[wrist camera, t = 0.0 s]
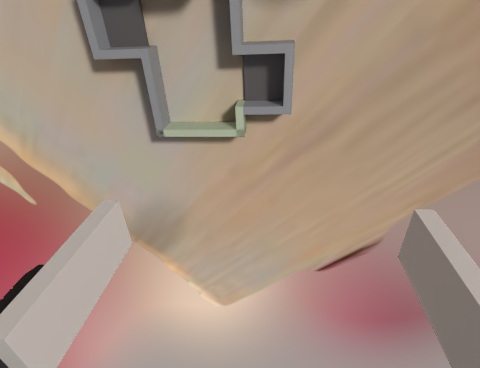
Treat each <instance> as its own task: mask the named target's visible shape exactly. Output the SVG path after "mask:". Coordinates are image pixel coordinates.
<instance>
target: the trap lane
mask: <svg viewBox="0 0 480 368" xmlns="http://www.w3.org/2000/svg"><path fill="white" fill-rule="evenodd" d="M77 3H78V6H79V10H80V13H81V16H82V20H83V23H84V27H85V30H86V33H87V37H88V40H89V44H90V47H91V51H92V54H93V57H94V60H98V59H128V58H141V60H142V65H143V70H144V75H145V79H146V84H147V89H148V94H149V98H150V103H151V108H152V112H153V117H154V122H155V127H156V131H157V136H158V137H244V136H245V132H246V115H266V114H291V108H292V88H293V69H294V49H295V42H294V40H289V41H263V42H243V19H242V0H229V3H230V21H231V40H232V55H244V84H245V100H238V101H237V104H236V106H235V114H236V122H170V118H169V112H168V107H167V101H166V96H165V90H164V85H163V79H162V74H161V68H160V63H159V57H158V51H157V46H149V44H148V39H147V34H146V29H145V23H144V18H143V13H142V8H141V3H140V0H77Z"/></svg>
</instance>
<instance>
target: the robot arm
mask: <svg viewBox="0 0 480 368" xmlns="http://www.w3.org/2000/svg"><path fill="white" fill-rule="evenodd" d="M131 245H132V240H131V237H130V234H129V231H128V228H127V225H126V222H125V219H124V216H123V213H122V210H121V207H120V204H119V201H118V200H103V201H102V202H101V203H100V204H99V205H98V206H97V207H96V209H95V210H94V211H93V212H92V213H91V214H90V215H89V216H88V217H87V219H86V220H85V221H84V222H83V223H82V224H81V225H80V226H79V227H78V228H77V230H76V231H75V232H74V233H73V234H72V235H71V236H70V237H69V238H68V240H67V241H66V242H65V243H64V244H63V245H62V246H61V247H60V249H59V250H58V251H57V252H56V253H55V254H54V255H53V256H52V257H51V259H50V260H49V261H48V262H47V263H46V264H45V265H38V266H36V267H35V268H34V269H32V270H31V271H29V272H28V273H26V274H25V275H24V276H23V277H22V278H21V279H20V280H19V281H18V282H17V283H16V284H15V285H14V286H13V289H10V291H9V292H8V293H7V294H6V295H5V296H4V298H3V299H2V300H0V368H57V366H58V365H59V363H60V361H61V360H62V358H63V357H64V355H65V353H66V352H67V350H68V348H69V347H70V345H71V343H72V342H73V340H74V339H75V337H76V335H77V334H78V332H79V330H80V329H81V327H82V325H83V324H84V322H85V320H86V319H87V317H88V316H89V314H90V312H91V311H92V309H93V308H94V306H95V304H96V302H97V301H98V299H99V298H100V296H101V294H102V293H103V291H104V290H105V288H106V286H107V285H108V283H109V281H110V280H111V278H112V276H113V275H114V273H115V271H116V270H117V268H118V267H119V265H120V263H121V262H122V260H123V258H124V257H125V255H126V254H127V252H128V250H129V249H130V247H131ZM398 258H399V260H400V262H401V264H402V266H403V268H404V270H405V272H406V274H407V276H408V278H409V280H410V282H411V284H412V287H413V289H414V290H415V293H416V295H417V297H418V299H419V301H420V303H421V305H422V307H423V309H424V311H425V313H426V315H427V318H428V320H429V322H430V324H431V326H432V328H433V330H434V332H435V334H436V336H437V338H438V340H439V342H440V344H441V347H442V349H443V350H444V353H445V355H446V357H447V359H448V361H449V363H450V365H451V367H452V368H480V269H479V267H478V266H477V265H476V264H475V262H474V261H473V260H472V258H471V257H470V256H469V255H468V253H467V252H466V251H465V249H464V248H463V247H462V245H461V244H460V243H459V242H458V240H457V239H456V238H455V236H454V235H453V234H452V232H451V231H450V230H449V229H448V227H447V226H446V225H445V223H444V222H443V221H442V219H441V218H440V217H439V216H438V214H437V213H436V212H435V210H418V209H414V212H413V215H412V218H411V221H410V224H409V227H408V229H407V232H406V235H405V238H404V241H403V244H402V247H401V250H400V252H399V256H398Z"/></svg>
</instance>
